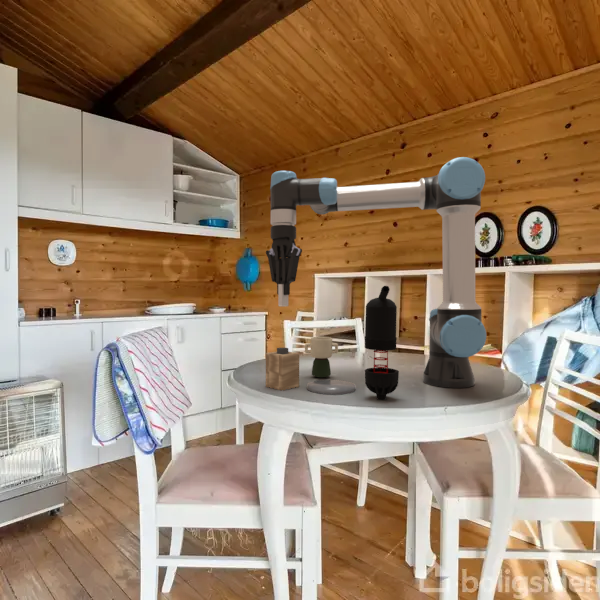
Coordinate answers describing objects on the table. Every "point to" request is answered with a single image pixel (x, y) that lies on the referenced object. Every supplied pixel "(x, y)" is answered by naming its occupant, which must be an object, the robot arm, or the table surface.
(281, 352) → the dark grey tall cylinder
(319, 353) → the character mug
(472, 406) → the table surface
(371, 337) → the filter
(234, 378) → the table surface
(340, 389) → the coaster
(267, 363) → the block
